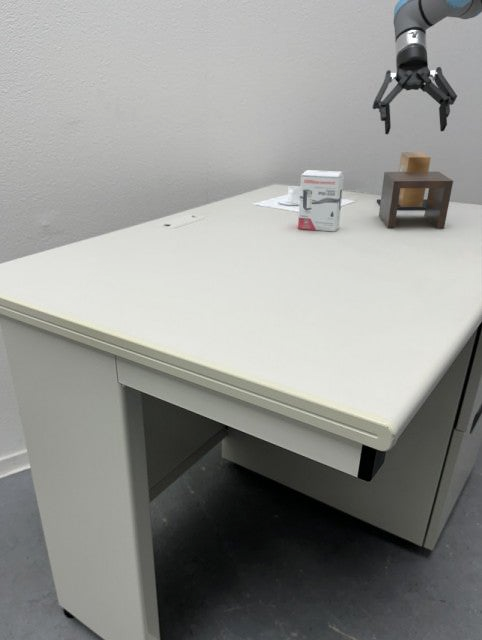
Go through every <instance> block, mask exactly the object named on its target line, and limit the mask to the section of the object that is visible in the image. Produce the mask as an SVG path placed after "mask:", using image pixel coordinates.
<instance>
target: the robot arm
mask: <svg viewBox="0 0 482 640" xmlns="http://www.w3.org/2000/svg"><path fill="white" fill-rule="evenodd" d="M393 10H394V11H393V27H394V37H395V38H394V43H395V44H394V45H395V65H396V68H395V69H396V72H392V71H391V70H390V69H388V70H386V72H385V75H384V78H383V83H382V84H381V86H380V89H379V90H378V92H377V93H376V96H375V98H374V101H373V104H372V109H373V110H376V109H377V110H378V112H379V117H380V121H381V122H384V134H385V135H389V134H390V131H391V128H392V127H391V126H392V125H391V108H390V107H391V106H390V104H391V103H392V102H393V100H394V99H395V98H396V97H397V96H398V95H399V94H400V93H401V92H402V91H403V90H405V91H412V90H414V91H418V90H419V89H420V90H421V91H422V92H423V93H427V94H428V96H430V97H431V98H432V99H433V100H434V101H435V102H436V103H438V104H439V107H438V115H439V129H440V132H445V130H446V127H447V126H448V117H449V115H450V113H451V106H452V105H455V102H456V100H457V98H458V95H457V93H456V92H455V90H454V89H453V87H452V86H451V85H450V83H449V81H448V80H447V78H446V77H445V76H444V74H443V70H442V67H441V66H438V67H436V68H435V69H433V70H430V68H429V64H428V63H429V62H428V61H429V60H428V50H427V49H428V48H427V30H428V29H430V28H432V27H433V26H435V25H436V24H438V23H439V22H441V21H443V20H444V19H446V18H458V19H461V20H468V19H473V18H475V17H478V16H479V15H480V14H481V13H482V0H398V1H397V3H396V4H395V7H394V9H393ZM394 80H395V81H396V82H397V83H396V85H395V86H394V87H393V89H391V91H390V92H389V93H388V94H387V95H386V96H385V98H384V99H383V97H384V95H385V93H386V91H387V89H388V87H389V84H391V83H392V82H393V81H394ZM433 81H434V82H433ZM382 99H383V100H382Z"/></svg>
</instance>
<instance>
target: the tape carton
mask: <svg viewBox="0 0 482 640" xmlns="http://www.w3.org/2000/svg"><path fill="white" fill-rule="evenodd" d="M431 159H432V158H431V156H429V155H428V154H426V153H424V152H422V151H411V152H410V151H406V152H405V151H403V152H400V161H399V167H398V172H430V171H429V170H430V163H431ZM425 193H426V188H400V194H399V201H398V204H399V205H400V206H401V207H422V206H423V200H424V199H425Z"/></svg>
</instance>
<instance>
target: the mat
mask: <svg viewBox="0 0 482 640" xmlns="http://www.w3.org/2000/svg"><path fill="white" fill-rule="evenodd" d="M380 202H381V198H379V199H376V203H377V204H378V205H379V206H380ZM426 203H427V198H424V200H423V206H422V207H401V206H400V205H399V204H398V208H397V211H425V209H426Z"/></svg>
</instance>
